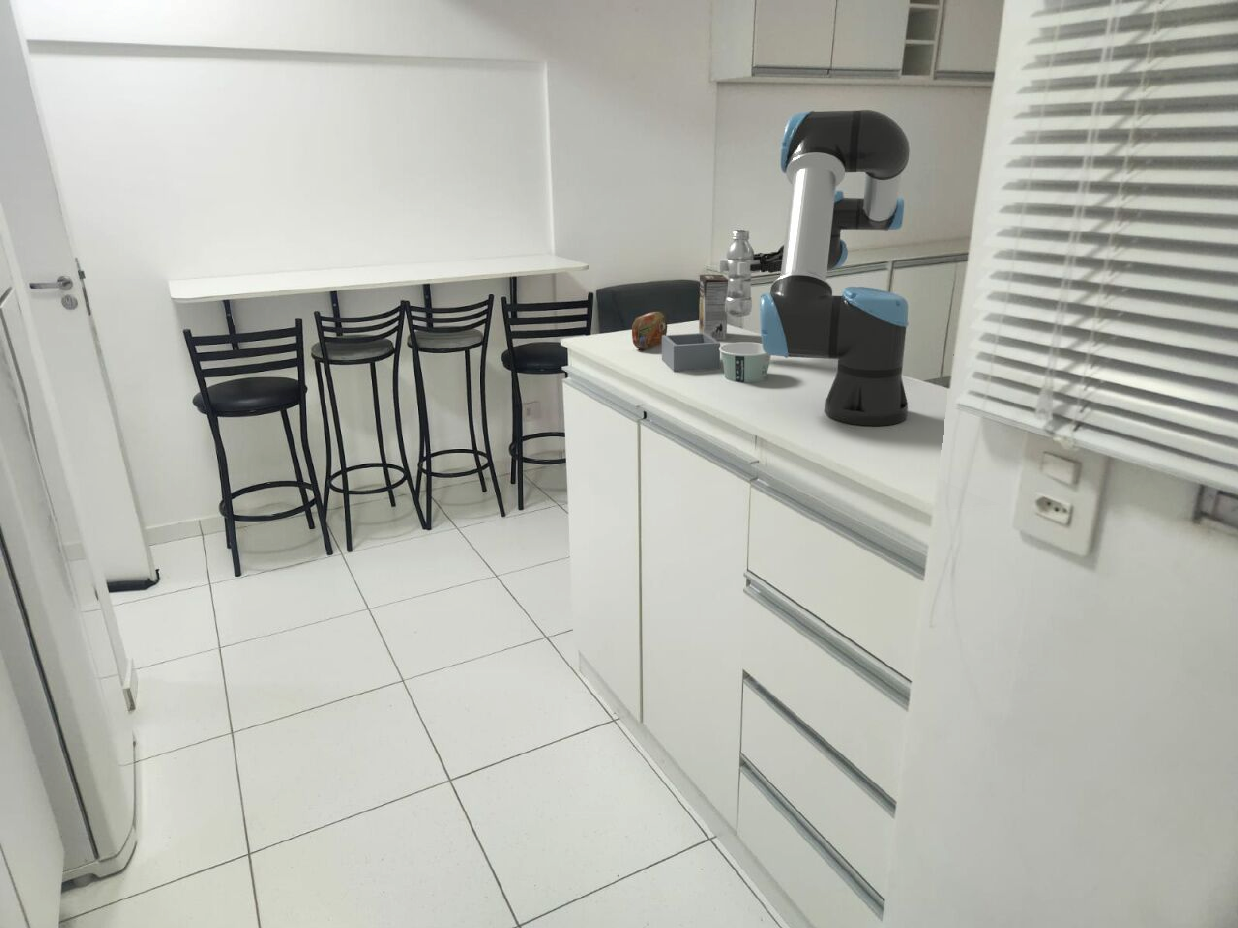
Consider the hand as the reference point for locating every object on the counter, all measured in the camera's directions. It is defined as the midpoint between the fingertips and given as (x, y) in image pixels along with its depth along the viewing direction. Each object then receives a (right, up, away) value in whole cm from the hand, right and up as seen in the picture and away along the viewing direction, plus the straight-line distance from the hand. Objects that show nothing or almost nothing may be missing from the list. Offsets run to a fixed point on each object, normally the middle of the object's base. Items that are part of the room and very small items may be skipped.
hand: (728, 267), depth 188 cm
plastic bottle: (+3, -11, +6) cm, 13 cm away
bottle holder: (-9, -22, +4) cm, 24 cm away
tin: (-18, -15, +24) cm, 33 cm away
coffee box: (0, -11, +32) cm, 34 cm away
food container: (+3, -27, -7) cm, 28 cm away
